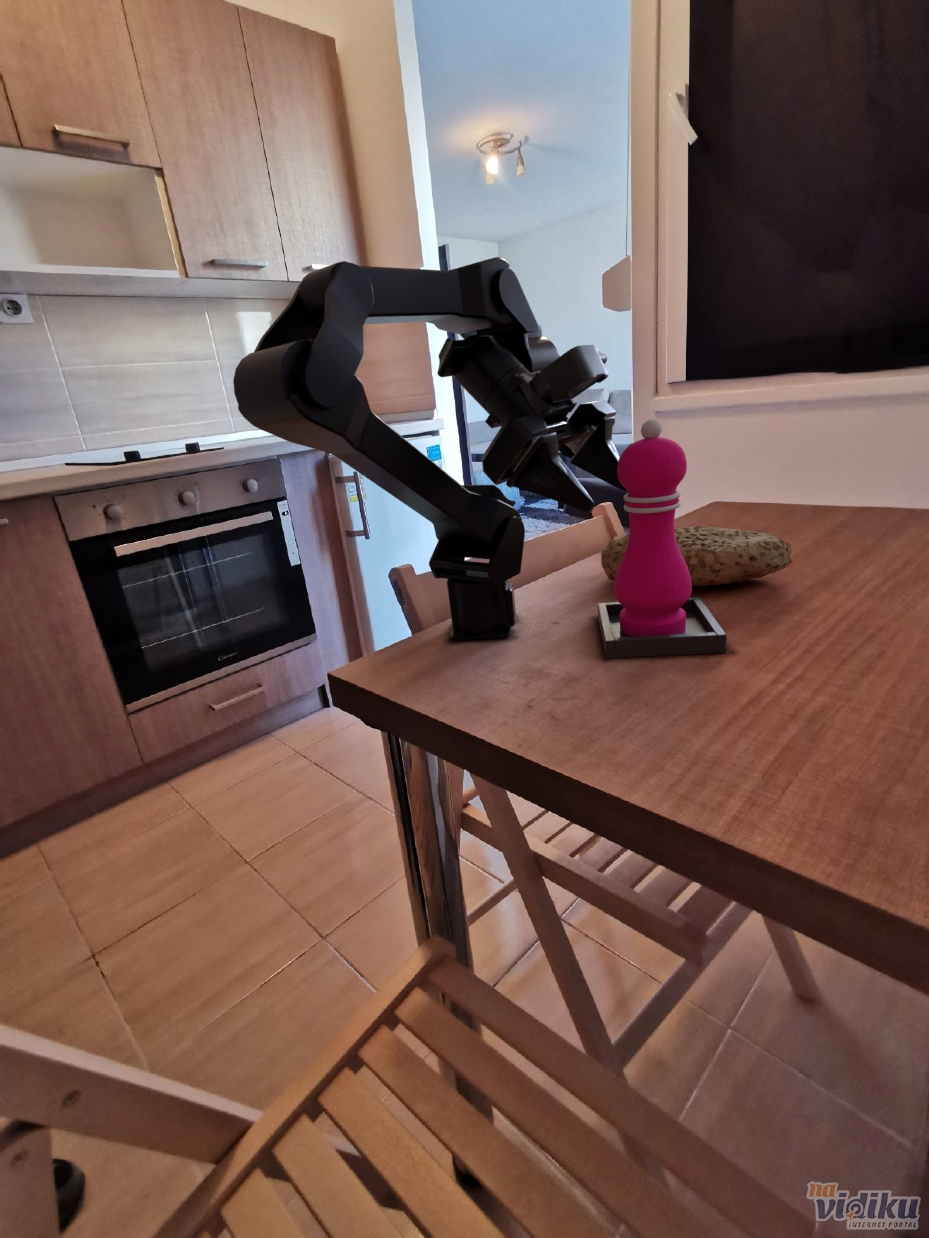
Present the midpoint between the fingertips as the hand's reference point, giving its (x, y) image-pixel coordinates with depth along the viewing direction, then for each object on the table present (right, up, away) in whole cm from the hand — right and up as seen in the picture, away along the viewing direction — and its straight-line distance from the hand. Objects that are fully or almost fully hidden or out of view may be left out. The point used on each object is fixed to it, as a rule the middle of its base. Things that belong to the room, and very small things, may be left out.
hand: (611, 497), depth 57 cm
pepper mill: (+4, -13, +1) cm, 14 cm away
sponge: (+14, -7, +15) cm, 22 cm away
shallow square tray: (+5, -13, +2) cm, 14 cm away
